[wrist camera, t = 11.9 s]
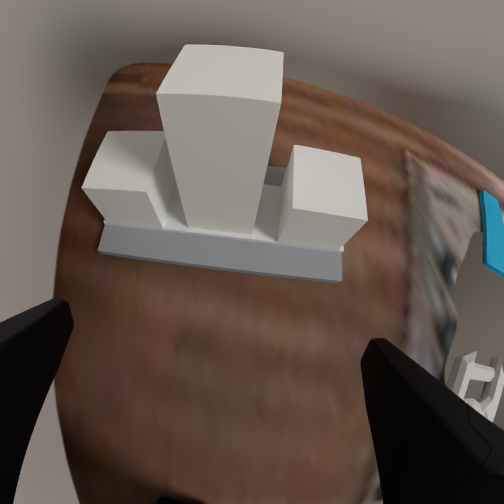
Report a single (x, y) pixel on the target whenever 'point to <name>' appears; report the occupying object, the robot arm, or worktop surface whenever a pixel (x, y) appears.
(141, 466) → the worktop surface
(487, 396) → the gun
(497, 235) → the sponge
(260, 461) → the worktop surface
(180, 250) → the board
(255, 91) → the block
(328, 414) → the worktop surface
